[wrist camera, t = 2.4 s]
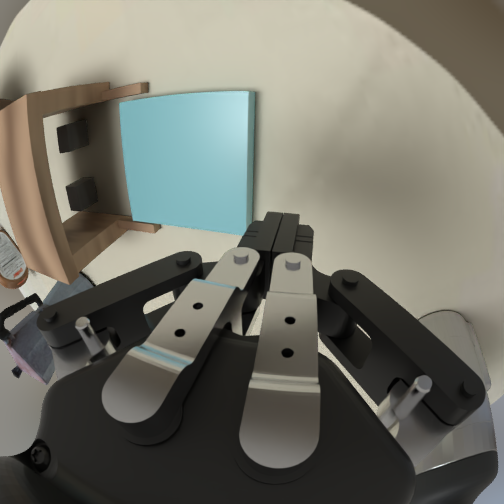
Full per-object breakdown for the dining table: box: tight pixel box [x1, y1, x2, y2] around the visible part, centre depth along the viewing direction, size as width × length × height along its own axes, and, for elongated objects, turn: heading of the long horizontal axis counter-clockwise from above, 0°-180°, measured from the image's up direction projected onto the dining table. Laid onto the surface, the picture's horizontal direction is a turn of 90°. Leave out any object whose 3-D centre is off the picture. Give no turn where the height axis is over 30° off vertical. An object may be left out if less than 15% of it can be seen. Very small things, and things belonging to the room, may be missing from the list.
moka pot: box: [0, 273, 94, 385], centre depth 31 cm, size 10×15×20 cm, turn 179°
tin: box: [0, 230, 28, 289], centre depth 38 cm, size 15×3×8 cm, turn 50°
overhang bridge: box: [0, 82, 160, 285], centre depth 21 cm, size 14×17×10 cm
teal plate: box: [119, 91, 255, 236], centre depth 22 cm, size 12×12×2 cm
